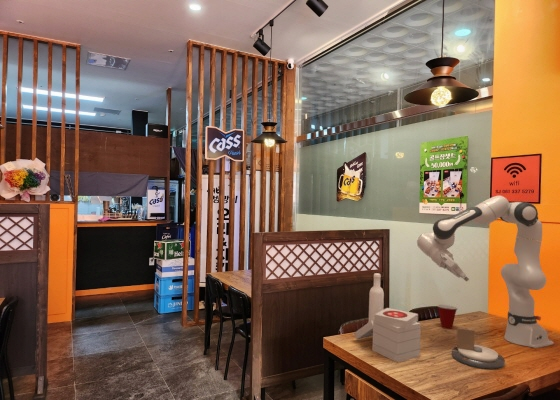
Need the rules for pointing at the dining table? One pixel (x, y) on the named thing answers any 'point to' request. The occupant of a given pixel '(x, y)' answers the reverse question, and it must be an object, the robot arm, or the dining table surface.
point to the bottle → (376, 297)
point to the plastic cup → (447, 315)
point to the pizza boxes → (393, 334)
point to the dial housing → (478, 364)
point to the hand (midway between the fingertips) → (466, 278)
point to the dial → (473, 347)
